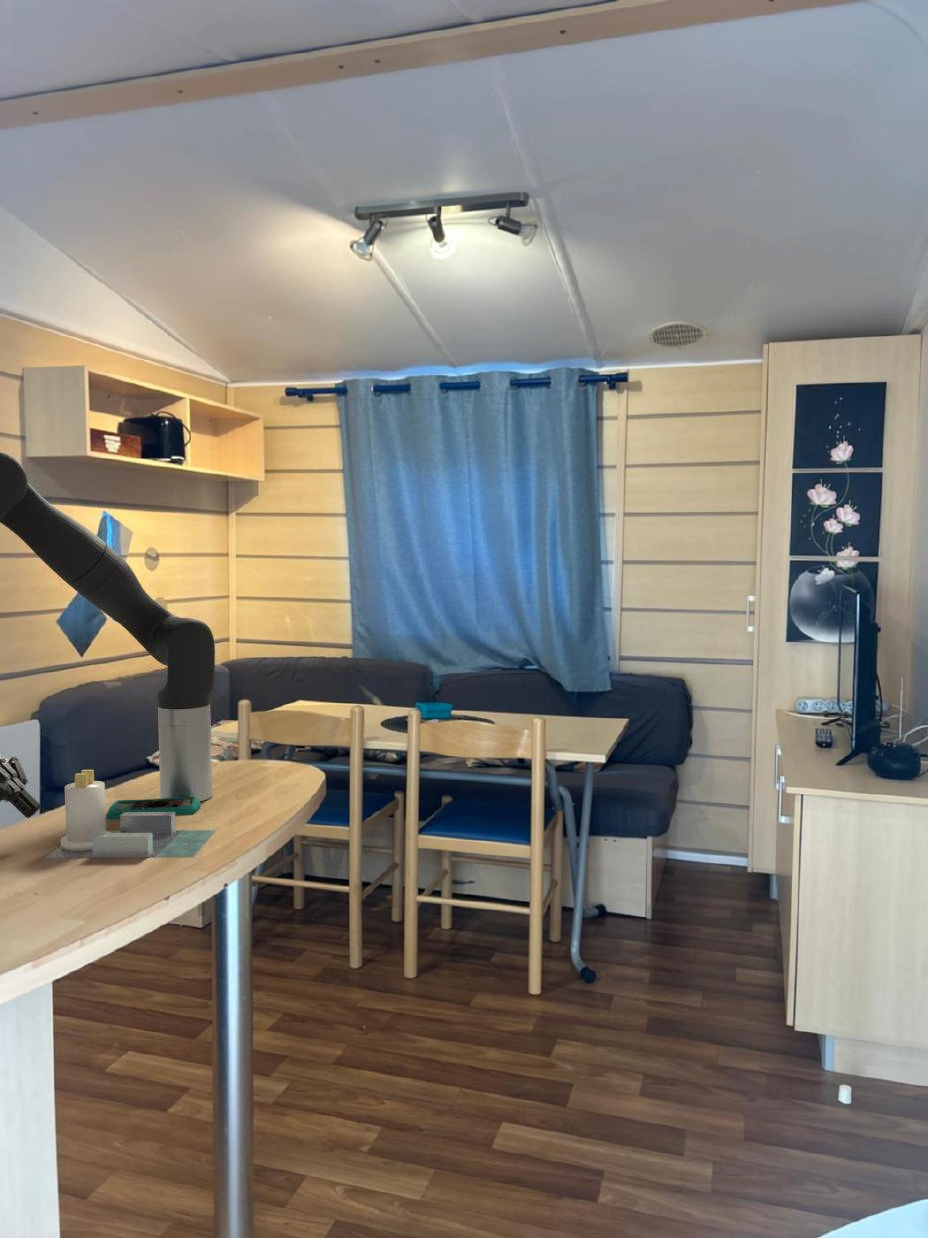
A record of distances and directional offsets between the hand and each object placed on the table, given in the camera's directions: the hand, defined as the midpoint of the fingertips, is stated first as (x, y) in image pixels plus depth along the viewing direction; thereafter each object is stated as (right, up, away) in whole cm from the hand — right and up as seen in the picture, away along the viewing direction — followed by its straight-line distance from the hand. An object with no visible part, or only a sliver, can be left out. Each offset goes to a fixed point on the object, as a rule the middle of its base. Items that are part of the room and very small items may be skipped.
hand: (35, 812), depth 139 cm
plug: (+7, -5, +1) cm, 9 cm away
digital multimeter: (+12, -5, +19) cm, 23 cm away
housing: (+15, -6, +1) cm, 16 cm away
